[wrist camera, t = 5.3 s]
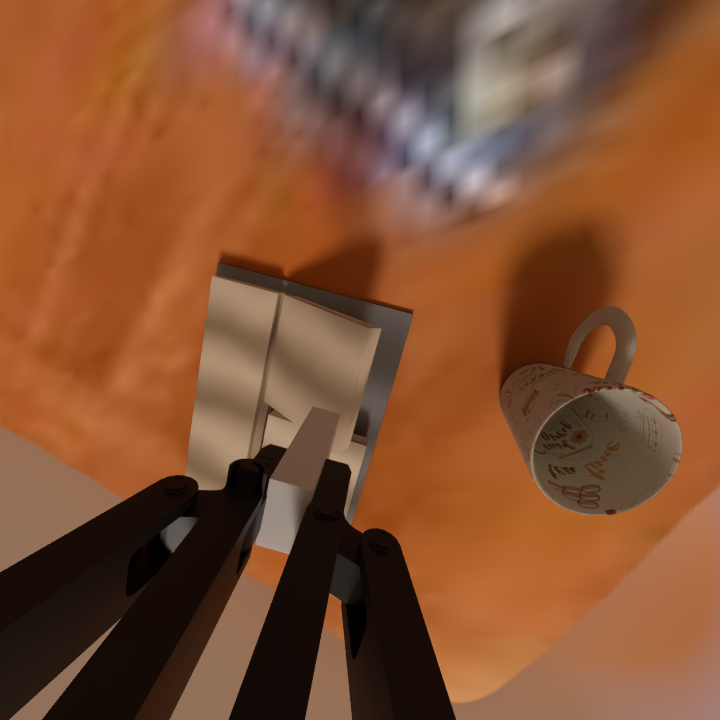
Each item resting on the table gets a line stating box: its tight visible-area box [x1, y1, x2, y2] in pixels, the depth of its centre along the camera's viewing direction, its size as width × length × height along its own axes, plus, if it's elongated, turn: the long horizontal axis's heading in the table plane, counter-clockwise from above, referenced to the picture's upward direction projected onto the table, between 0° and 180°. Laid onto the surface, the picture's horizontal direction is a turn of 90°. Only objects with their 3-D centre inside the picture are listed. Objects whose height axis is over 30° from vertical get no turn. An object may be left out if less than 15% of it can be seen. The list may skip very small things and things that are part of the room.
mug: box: [500, 306, 682, 516], centre depth 24 cm, size 8×13×10 cm, turn 169°
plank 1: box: [264, 295, 382, 453], centre depth 27 cm, size 10×9×2 cm
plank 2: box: [262, 410, 369, 518], centre depth 31 cm, size 10×9×2 cm
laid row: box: [185, 263, 413, 525], centre depth 31 cm, size 22×17×2 cm
